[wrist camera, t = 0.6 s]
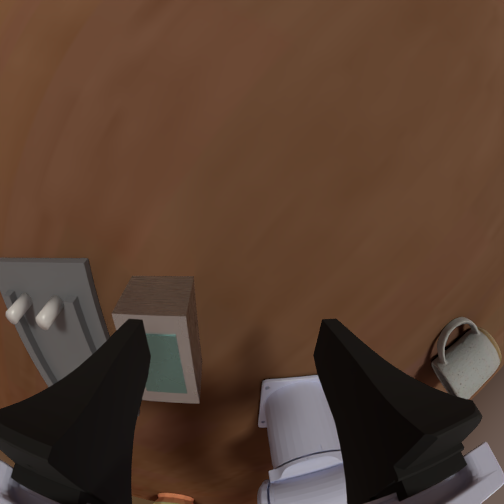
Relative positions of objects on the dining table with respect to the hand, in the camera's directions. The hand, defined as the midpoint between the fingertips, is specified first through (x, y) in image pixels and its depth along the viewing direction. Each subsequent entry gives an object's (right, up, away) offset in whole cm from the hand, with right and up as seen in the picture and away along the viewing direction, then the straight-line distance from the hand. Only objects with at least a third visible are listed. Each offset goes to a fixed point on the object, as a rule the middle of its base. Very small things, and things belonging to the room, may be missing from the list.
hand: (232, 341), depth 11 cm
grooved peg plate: (-18, -6, +12) cm, 22 cm away
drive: (-6, -2, +11) cm, 13 cm away
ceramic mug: (+26, -8, +17) cm, 33 cm away
